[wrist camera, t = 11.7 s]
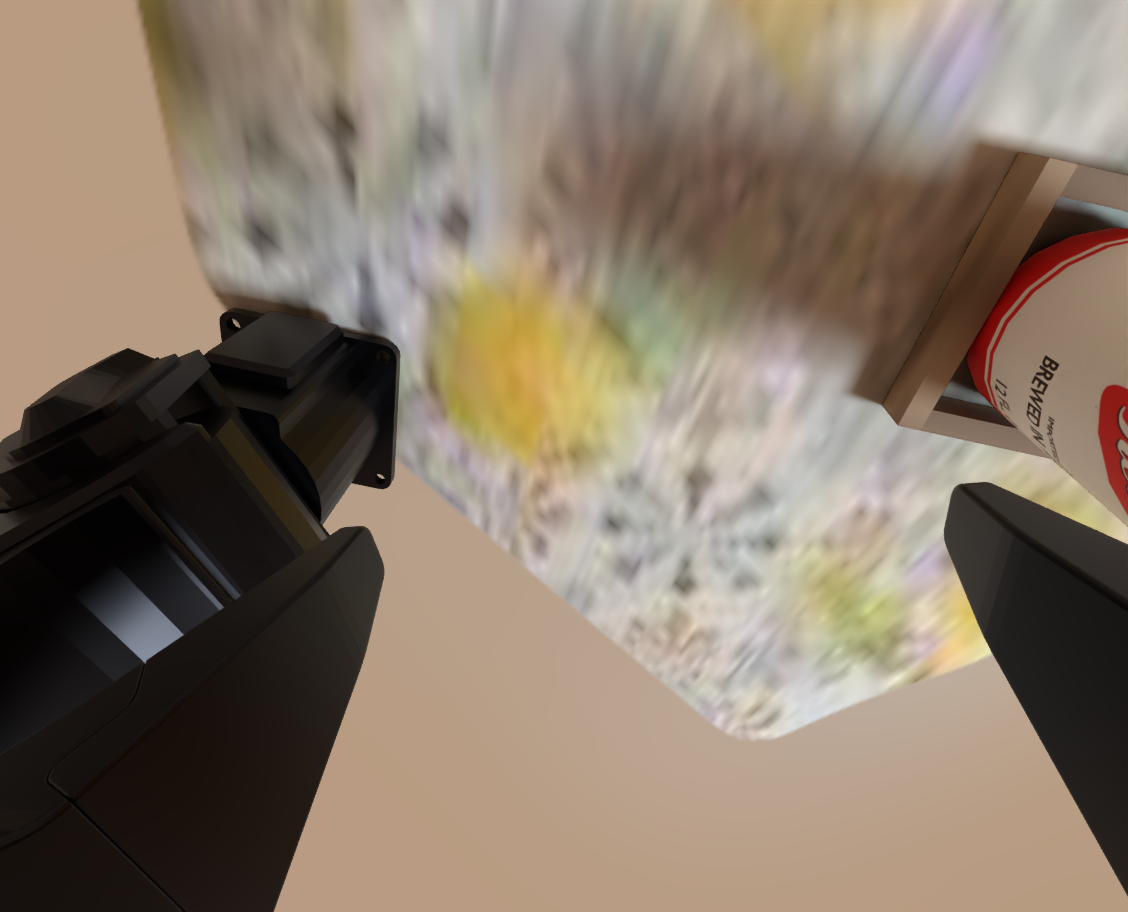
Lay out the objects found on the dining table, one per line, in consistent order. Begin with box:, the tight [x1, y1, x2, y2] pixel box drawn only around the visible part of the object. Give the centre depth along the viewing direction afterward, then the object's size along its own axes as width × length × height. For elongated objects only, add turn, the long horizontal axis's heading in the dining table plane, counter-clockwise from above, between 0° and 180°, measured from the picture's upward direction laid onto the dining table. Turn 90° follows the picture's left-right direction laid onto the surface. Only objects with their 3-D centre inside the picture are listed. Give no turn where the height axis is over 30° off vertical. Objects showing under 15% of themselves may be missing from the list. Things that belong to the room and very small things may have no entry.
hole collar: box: [882, 152, 1128, 459], centre depth 19 cm, size 8×8×2 cm
